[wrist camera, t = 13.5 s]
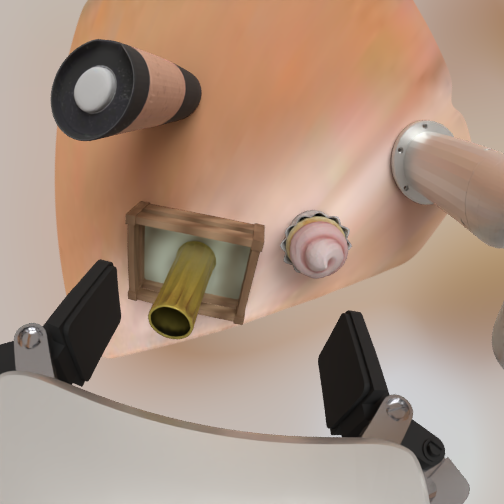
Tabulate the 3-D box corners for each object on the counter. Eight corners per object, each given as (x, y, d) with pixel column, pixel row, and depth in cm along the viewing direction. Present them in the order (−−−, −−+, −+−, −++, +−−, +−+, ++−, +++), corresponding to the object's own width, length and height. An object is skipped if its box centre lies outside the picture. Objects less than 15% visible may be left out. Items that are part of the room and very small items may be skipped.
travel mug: (159, 131, 34) (67, 161, 16) (141, 83, 30) (39, 77, 13) (212, 109, 32) (152, 110, 15) (193, 59, 29) (119, 17, 11)
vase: (170, 261, 42) (136, 324, 30) (189, 232, 40) (156, 292, 27) (203, 282, 44) (181, 349, 31) (224, 255, 41) (207, 322, 29)
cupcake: (319, 268, 43) (331, 310, 34) (267, 240, 41) (267, 279, 32) (355, 220, 38) (378, 254, 30) (302, 187, 37) (314, 213, 28)
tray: (264, 225, 40) (264, 242, 35) (244, 303, 46) (242, 324, 42) (140, 201, 38) (125, 214, 34) (139, 280, 45) (128, 298, 41)
